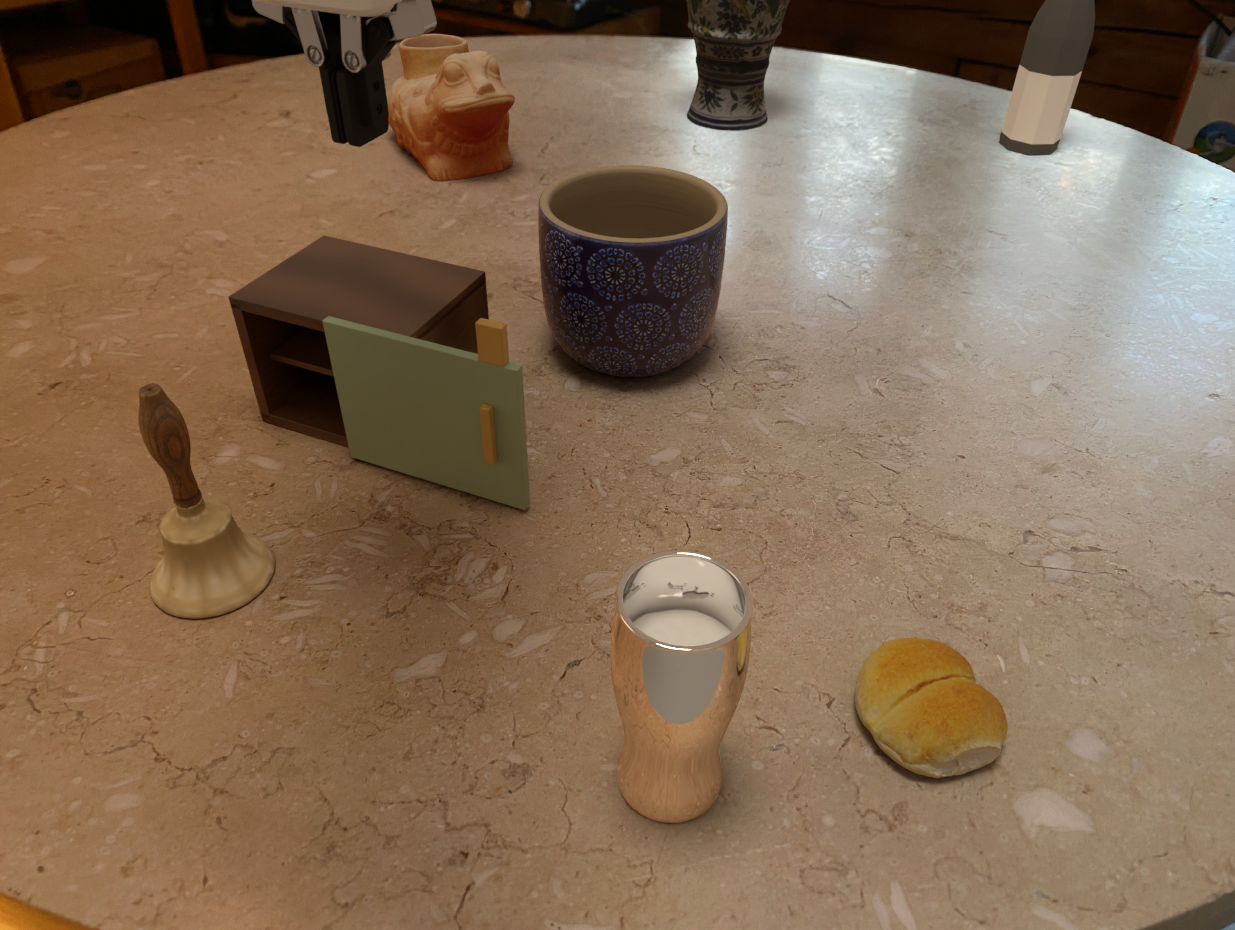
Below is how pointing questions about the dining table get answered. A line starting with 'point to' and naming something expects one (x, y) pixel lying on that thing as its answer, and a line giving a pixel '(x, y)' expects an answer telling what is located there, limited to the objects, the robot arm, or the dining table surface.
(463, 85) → the ceramic vessel
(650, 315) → the planter
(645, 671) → the beer glass
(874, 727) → the bread roll
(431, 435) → the sliding door
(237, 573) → the hand bell
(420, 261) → the cupboard
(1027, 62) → the wine bottle
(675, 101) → the dining table surface
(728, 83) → the vase
